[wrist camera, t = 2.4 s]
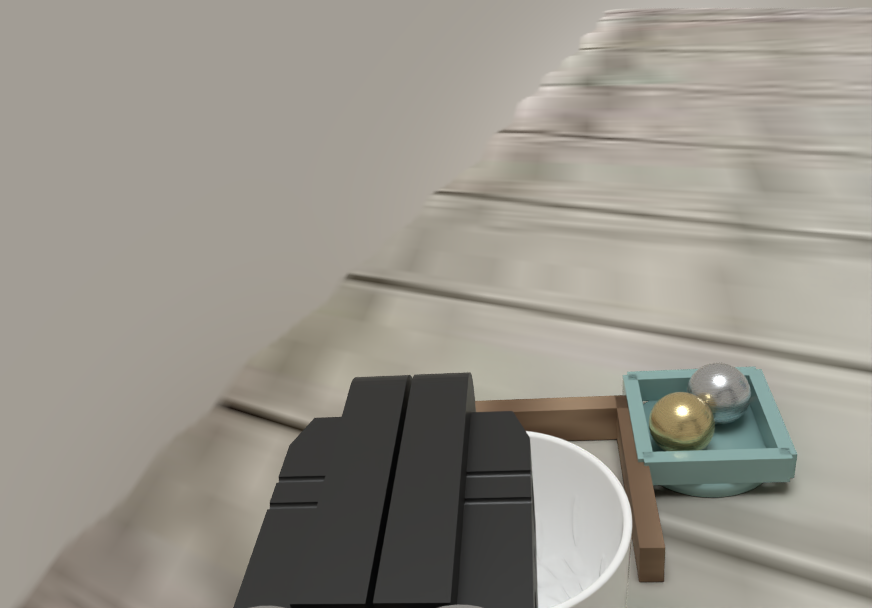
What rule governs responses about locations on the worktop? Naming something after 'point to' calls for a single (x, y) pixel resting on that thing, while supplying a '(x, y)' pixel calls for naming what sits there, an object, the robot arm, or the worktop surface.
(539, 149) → the worktop surface
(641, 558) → the cradle
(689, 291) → the worktop surface
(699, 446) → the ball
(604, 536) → the white cup
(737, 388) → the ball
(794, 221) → the worktop surface
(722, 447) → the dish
